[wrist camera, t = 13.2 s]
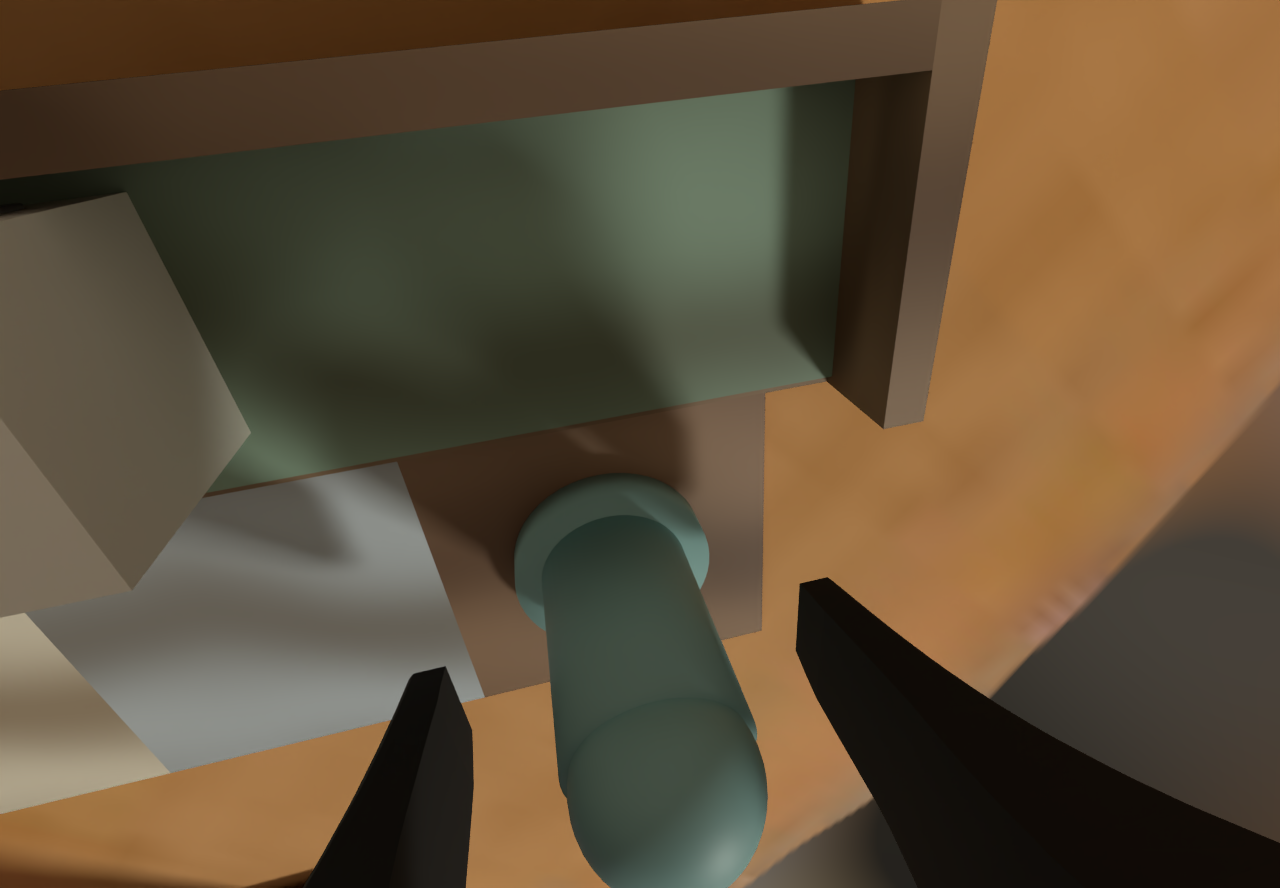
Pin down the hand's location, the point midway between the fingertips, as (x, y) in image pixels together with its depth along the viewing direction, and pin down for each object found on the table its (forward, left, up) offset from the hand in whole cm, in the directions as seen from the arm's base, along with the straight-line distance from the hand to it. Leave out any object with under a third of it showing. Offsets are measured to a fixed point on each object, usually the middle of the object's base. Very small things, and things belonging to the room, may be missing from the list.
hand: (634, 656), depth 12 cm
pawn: (0, 0, -3) cm, 3 cm away
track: (0, +8, -3) cm, 9 cm away
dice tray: (+7, +6, -3) cm, 10 cm away
